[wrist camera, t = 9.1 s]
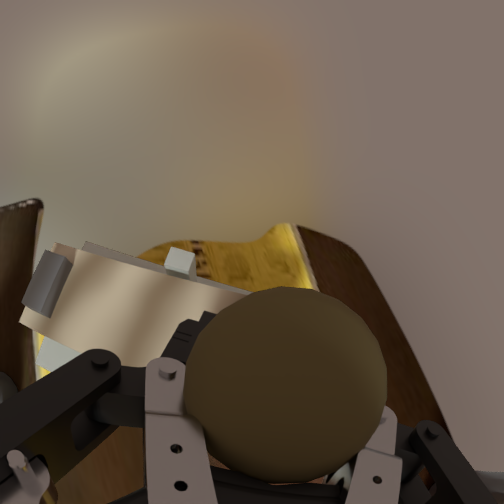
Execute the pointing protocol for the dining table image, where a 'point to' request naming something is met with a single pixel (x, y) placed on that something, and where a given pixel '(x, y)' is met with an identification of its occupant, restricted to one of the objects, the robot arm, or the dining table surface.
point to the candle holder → (6, 387)
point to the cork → (286, 385)
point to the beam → (113, 304)
